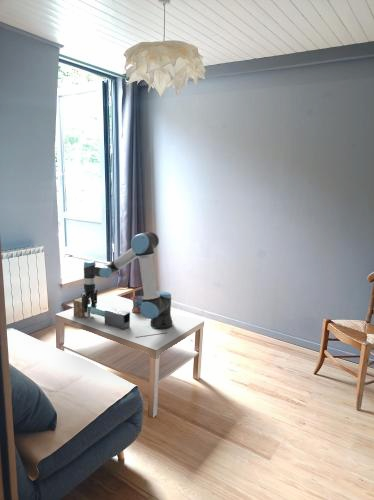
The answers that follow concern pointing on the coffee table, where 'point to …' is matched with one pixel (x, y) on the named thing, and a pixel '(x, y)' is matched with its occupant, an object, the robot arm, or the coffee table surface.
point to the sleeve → (117, 318)
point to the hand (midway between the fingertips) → (89, 315)
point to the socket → (79, 308)
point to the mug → (137, 303)
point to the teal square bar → (96, 309)
